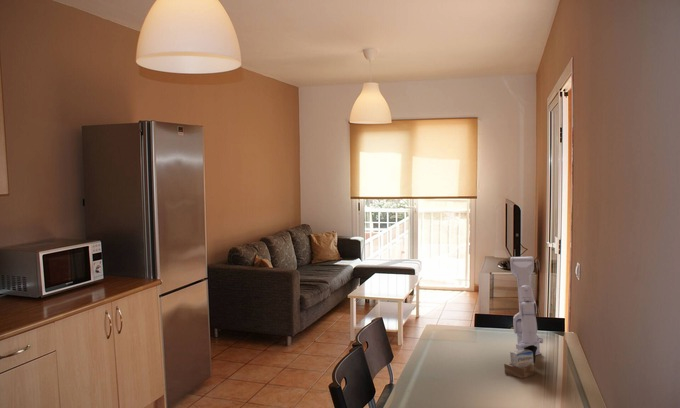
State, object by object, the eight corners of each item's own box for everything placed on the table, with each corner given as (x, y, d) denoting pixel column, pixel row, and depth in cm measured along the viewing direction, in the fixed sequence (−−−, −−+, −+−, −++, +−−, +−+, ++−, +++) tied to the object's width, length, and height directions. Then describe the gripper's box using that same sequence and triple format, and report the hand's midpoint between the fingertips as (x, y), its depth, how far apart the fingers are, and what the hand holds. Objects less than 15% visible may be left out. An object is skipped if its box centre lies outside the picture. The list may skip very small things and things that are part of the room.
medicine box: (517, 375, 216) (516, 354, 216) (511, 372, 221) (509, 351, 220) (534, 372, 219) (533, 351, 218) (527, 368, 223) (526, 348, 223)
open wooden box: (516, 368, 224) (516, 360, 224) (534, 374, 217) (534, 365, 217) (504, 372, 221) (504, 364, 220) (522, 378, 213) (522, 369, 213)
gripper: (525, 336, 215) (527, 369, 215) (548, 329, 222) (550, 361, 223) (511, 332, 221) (513, 365, 221) (534, 326, 228) (536, 357, 229)
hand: (530, 363), depth 222 cm, fingers closed, pressing on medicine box
